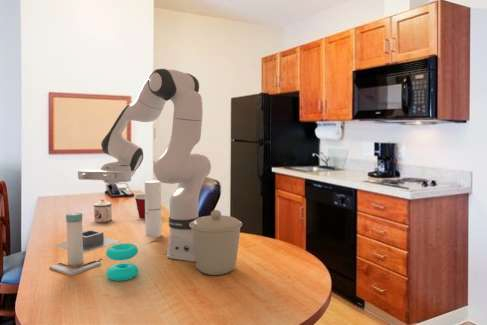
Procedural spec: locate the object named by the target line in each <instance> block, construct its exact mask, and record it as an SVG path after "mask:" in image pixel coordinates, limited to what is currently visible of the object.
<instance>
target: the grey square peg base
mask: <svg viewBox="0 0 487 325" xmlns="http://www.w3.org/2000/svg"><path fill="white" fill-rule="evenodd" d="M82 234H83V254H84V253H88V252H90V251H93V250H96V249H99V248H103V247H106V246H109V245H112V244H115V243H119V242H121V240H119V239H116V238H115V239H114V238H112V237H106V236H104V232H102V231H99V230H98V231H97V230H94V229H89V230H85V231H82ZM56 246H58V247H62V248H65V249H67V241H65V242H61V243H58V244H56Z"/></svg>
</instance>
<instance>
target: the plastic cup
mask: <svg viewBox="0 0 487 325" xmlns="http://www.w3.org/2000/svg"><path fill="white" fill-rule="evenodd" d="M134 199H135V204H136V209H137V213H138V214H137V215H138V218H142V219H145V193H140V194H135V195H134Z"/></svg>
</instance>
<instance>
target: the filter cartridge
mask: <svg viewBox="0 0 487 325" xmlns="http://www.w3.org/2000/svg"><path fill="white" fill-rule="evenodd" d="M65 221H66V222H65V223H66V224H65V225H66V242H67V248H66V249H67V252H66V253H67V265H68V266H69V267H73V266H79V265H82V264H84V253H83V234H82V232H83V213H82V212H70V213H67V214H65Z"/></svg>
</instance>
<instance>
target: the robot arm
mask: <svg viewBox="0 0 487 325" xmlns="http://www.w3.org/2000/svg"><path fill="white" fill-rule="evenodd" d="M199 92H200V83H199V80H198V78H197V77H196V76H194V75H192V74H190V73H187V72H186V73H185V72H183V71H179V70H176V69H166V68H156V69H154V70H152V71H151V72H150V73H149V76H148V77H147V78H146V80H145V81H144V83H143V85H142V87H141V88H140V91H139V93H138V95H137V97H136V99H135V100H134V102H133V103H127V104H126V106H124V108H123V109H122V110H121V111H120V113H119V115H117V117H116V120H115V121H114V123H113V125H112V126H111V128H110V129H109V131H108V132H107V134H106V135H105V136H104V138H102V140H101V149H102V153H104V154H106V155H108V156H110V157H112V158H114V159H116V160H117V161H115V162H107V163H105V164H103V165H102V166H101V168H100V169H99V168H96V169H95V168H92V169H91V168H90V169H89V168H88V169H81V170H78V171H77V177H78V180H79V181H80V180H82V181H87V180H88V181H103V182H104V183H105V184H107V185H114V184H117V183H127V182H131V180H132V177H134V175H135V173H136V171H137V169H139V168H140V166H141V164H142V163H143V160H144V151H143V150H144V149H143V148H142V147H140V146H138V145H137V144H135V143H134V142H131V141H130V140H128V139H127V138H125V137H123V135H122V134H123V132H124V130H125V129H126V127H127V125H128V124H129V122H131V121H135V122H141V123H150V122H154V121H155V120H158V118H159V117H160V115H161V114H162V111H163V109H164V107H165V104H166V102H168V101H169V100H170V101H171V102H172V104H173V118H172V126H171V127H172V128H171V136H170V140H169V143H168V145H167V147H166V149H165V150H164V152H163V154H162V155H161V156H160V157H158V159H157V160H156V161H155V163H154V166H153V174H154V177H155V179H156V181H160V182H161V184H169V185H170V184H171V185H176V184H178V185H177V188H176V189H175V191H174V192H173V193H172V194H171V196H170V198H169V217H168V227H169V233H168V234H169V236H168V243H167V248H166V251H165V252H166V258H167V259H172V260H180V261H187V262H194V263H196V259H195V252H194V244H193V236H192V228H191V227H190V223H191V222H192V221H194V220H195V219H197V218H200V216H199V197H200V192H201V189H202V186H203V183H204V181H205V179H206V178H207V177H208V176H209V175H210V173H211V168H212V166H211V165H212V164H211V161H210V160H209V158H208V157H207V156H206V155H204V154H199V153H192V150H193V149H194V148H195V146H197V144H199V142H200V141H201V137H202V127H203V126H202V125H203V99H202V96H201V94H200V93H199Z"/></svg>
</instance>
